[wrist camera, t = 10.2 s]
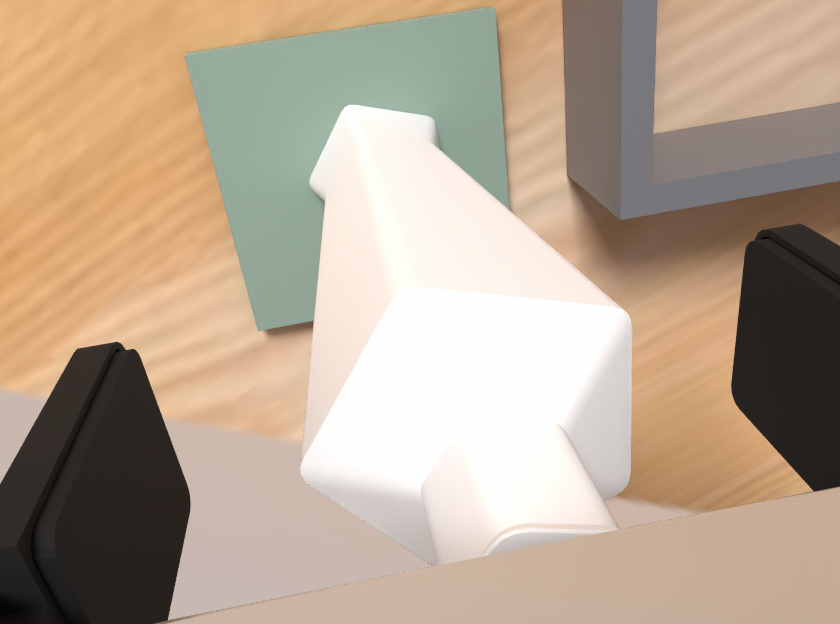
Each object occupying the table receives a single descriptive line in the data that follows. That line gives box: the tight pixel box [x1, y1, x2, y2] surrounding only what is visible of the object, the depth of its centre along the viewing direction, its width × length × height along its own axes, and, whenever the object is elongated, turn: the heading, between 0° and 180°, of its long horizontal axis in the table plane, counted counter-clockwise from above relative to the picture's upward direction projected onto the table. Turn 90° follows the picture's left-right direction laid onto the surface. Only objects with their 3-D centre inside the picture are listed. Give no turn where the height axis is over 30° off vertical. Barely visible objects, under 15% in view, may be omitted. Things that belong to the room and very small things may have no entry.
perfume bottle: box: [300, 105, 632, 566], centre depth 14 cm, size 5×4×15 cm
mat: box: [185, 7, 509, 331], centre depth 20 cm, size 8×8×1 cm
